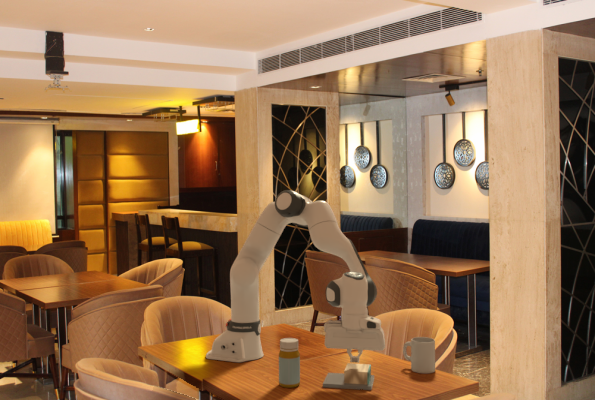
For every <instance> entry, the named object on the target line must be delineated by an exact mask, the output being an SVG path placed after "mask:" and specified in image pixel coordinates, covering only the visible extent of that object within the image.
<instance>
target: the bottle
mask: <svg viewBox="0 0 595 400" xmlns="http://www.w3.org/2000/svg"><path fill="white" fill-rule="evenodd" d="M300 363H301V355H300V351H299V339H298V338H294V337H285V338H281V339H280V340H279V352H278V384H279V386H280V387H282V388H285V389H286V388H287V389H292V388H297V387H298V386H299V385H300V384H301V364H300Z"/></svg>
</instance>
